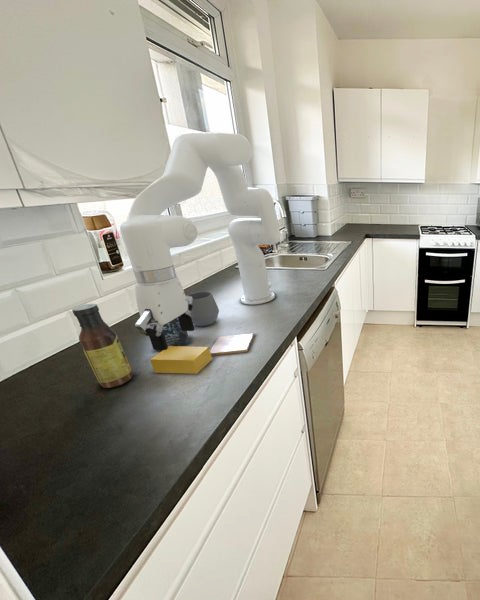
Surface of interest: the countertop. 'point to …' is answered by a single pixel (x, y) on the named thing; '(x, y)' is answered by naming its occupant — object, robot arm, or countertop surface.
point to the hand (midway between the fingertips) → (175, 339)
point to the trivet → (232, 344)
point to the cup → (203, 308)
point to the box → (174, 333)
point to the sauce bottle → (102, 347)
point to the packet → (181, 359)
